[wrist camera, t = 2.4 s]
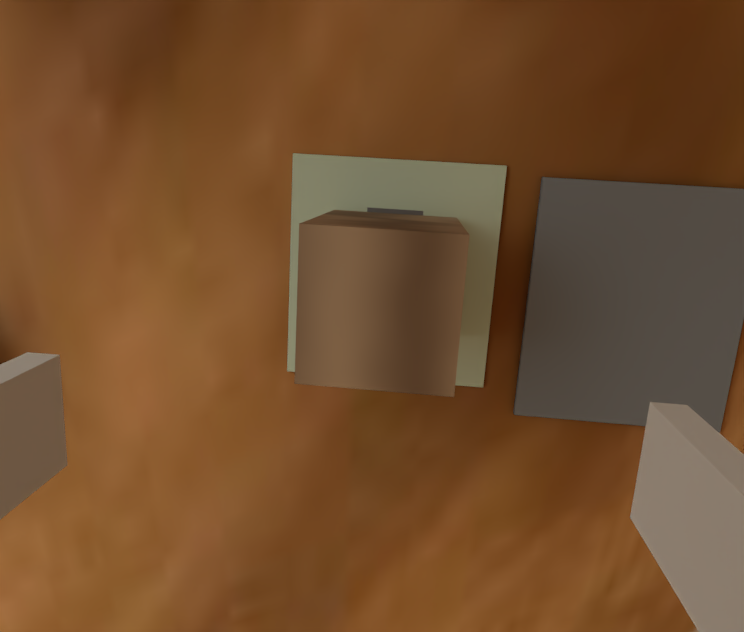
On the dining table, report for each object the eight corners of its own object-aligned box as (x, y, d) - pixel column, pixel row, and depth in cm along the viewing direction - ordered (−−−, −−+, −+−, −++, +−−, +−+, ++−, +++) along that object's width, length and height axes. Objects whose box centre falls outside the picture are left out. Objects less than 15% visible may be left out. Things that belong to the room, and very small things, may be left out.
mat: (513, 412, 37) (514, 414, 36) (541, 176, 33) (543, 177, 33) (716, 429, 36) (719, 432, 35) (766, 190, 33) (770, 190, 32)
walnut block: (329, 327, 36) (294, 383, 26) (334, 209, 34) (299, 223, 25) (445, 336, 36) (454, 396, 26) (456, 217, 34) (469, 234, 24)
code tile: (287, 370, 37) (287, 371, 37) (293, 153, 34) (292, 153, 34) (482, 386, 36) (483, 387, 36) (506, 165, 33) (506, 165, 33)
